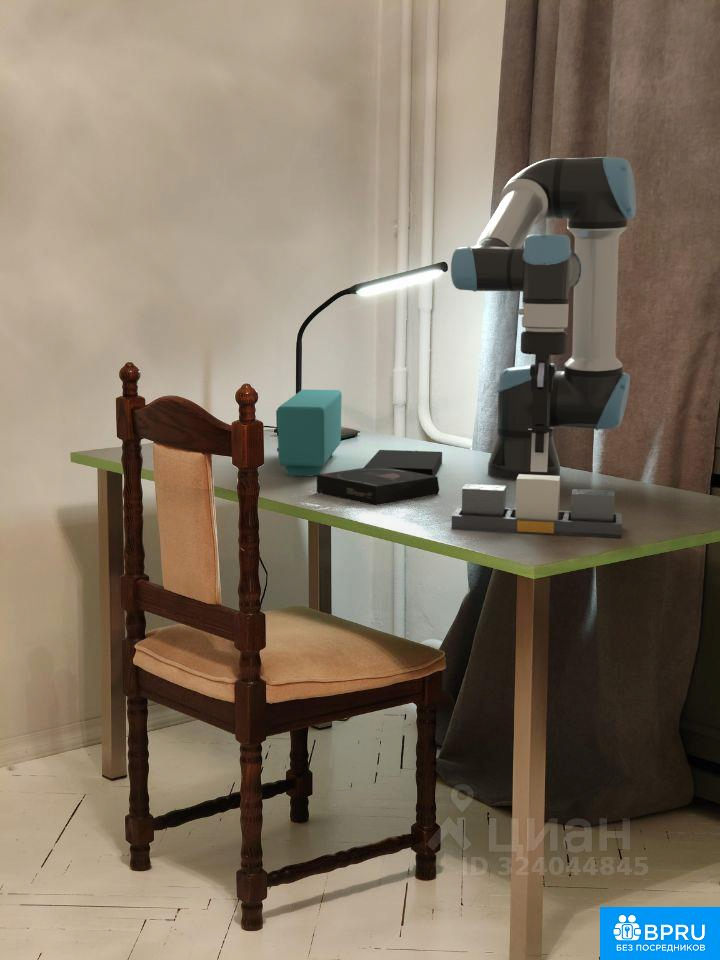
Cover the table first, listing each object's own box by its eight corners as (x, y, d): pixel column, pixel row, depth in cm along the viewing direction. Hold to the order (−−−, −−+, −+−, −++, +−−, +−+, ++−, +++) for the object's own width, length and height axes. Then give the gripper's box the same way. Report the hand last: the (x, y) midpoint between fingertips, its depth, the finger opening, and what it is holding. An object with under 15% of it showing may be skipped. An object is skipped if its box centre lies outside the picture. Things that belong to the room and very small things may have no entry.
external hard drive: (441, 465, 273) (442, 451, 272) (432, 483, 250) (432, 469, 250) (378, 463, 275) (378, 449, 274) (363, 481, 252) (363, 466, 252)
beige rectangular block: (517, 520, 210) (518, 474, 209) (558, 522, 209) (560, 476, 208) (515, 525, 206) (516, 478, 205) (557, 527, 205) (558, 480, 203)
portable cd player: (439, 496, 237) (439, 476, 236) (375, 507, 225) (376, 486, 225) (379, 484, 249) (380, 465, 248) (316, 495, 237) (316, 474, 237)
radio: (297, 453, 286) (297, 389, 283) (341, 454, 285) (342, 389, 282) (273, 478, 252) (272, 406, 250) (323, 479, 251) (323, 407, 249)
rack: (458, 518, 215) (458, 481, 214) (621, 526, 209) (623, 488, 208) (451, 529, 206) (452, 490, 205) (621, 538, 200) (623, 499, 199)
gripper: (524, 327, 209) (519, 464, 213) (518, 331, 196) (513, 476, 200) (568, 328, 207) (563, 465, 211) (565, 332, 195) (559, 478, 199)
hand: (538, 470), depth 206 cm, fingers closed
